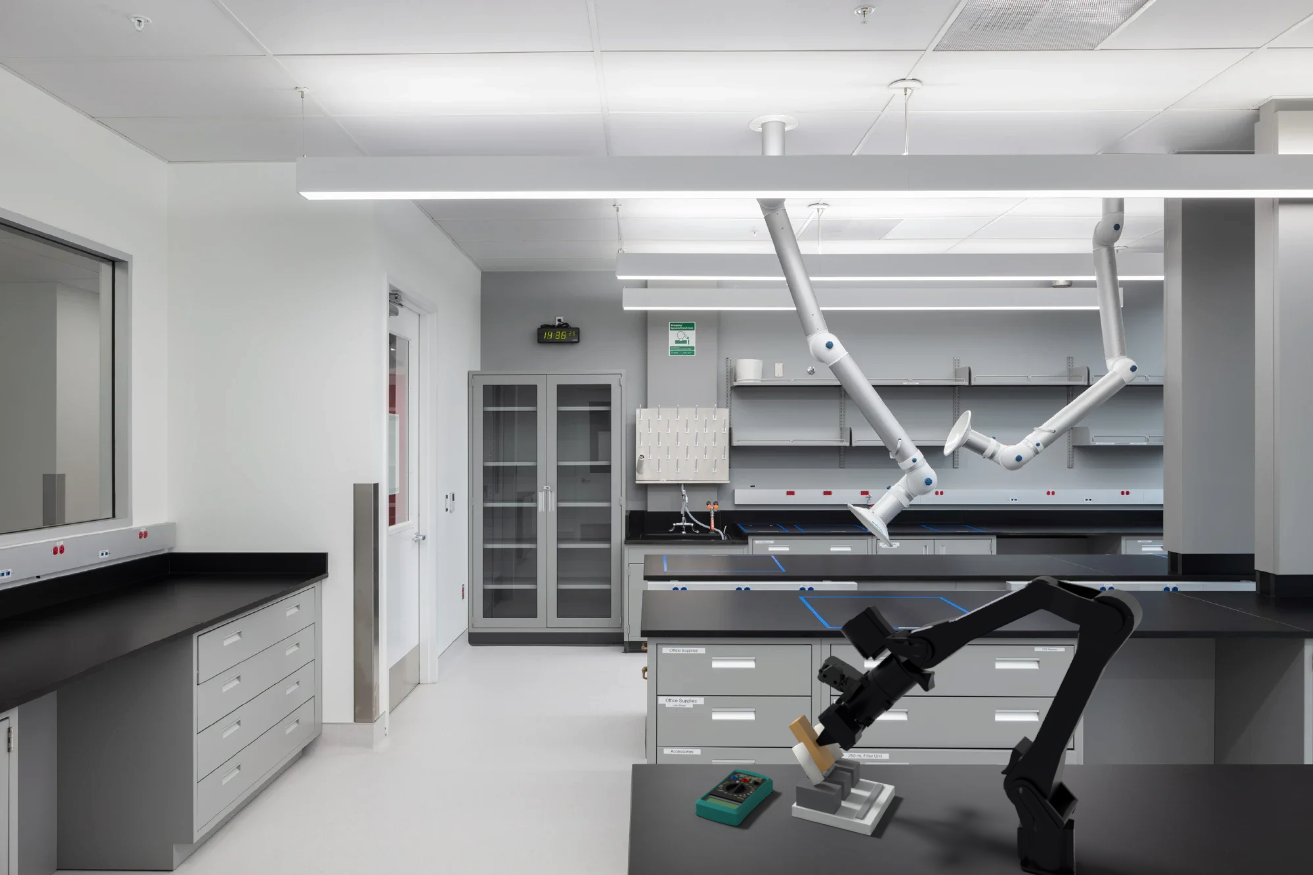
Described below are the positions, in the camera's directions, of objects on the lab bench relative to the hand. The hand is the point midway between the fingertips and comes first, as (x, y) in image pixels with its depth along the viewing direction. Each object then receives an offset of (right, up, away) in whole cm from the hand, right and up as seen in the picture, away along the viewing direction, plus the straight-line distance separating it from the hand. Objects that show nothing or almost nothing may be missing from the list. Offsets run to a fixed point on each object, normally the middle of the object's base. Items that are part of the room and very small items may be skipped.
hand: (818, 743), depth 125 cm
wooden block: (+2, -4, -1) cm, 4 cm away
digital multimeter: (-13, -10, -1) cm, 17 cm away
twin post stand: (+4, -9, -2) cm, 10 cm away
